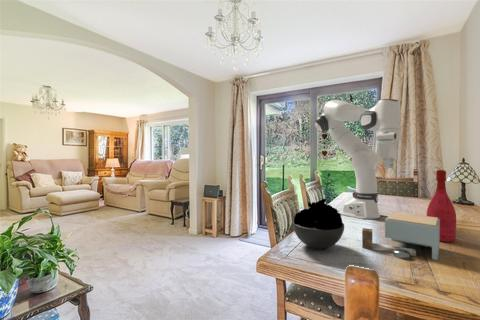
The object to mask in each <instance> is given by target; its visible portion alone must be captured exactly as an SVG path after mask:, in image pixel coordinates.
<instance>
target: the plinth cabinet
mask: <svg viewBox="0 0 480 320" xmlns="http://www.w3.org/2000/svg"><path fill="white" fill-rule="evenodd" d="M439 231H440V219H438V218H437V217H429V216H427V215H420V214H412V213H405V212H398V211H397V212H396V211H395V212H394V211H392V212H391V213H389V215H388V216H387V217H386V218H385V219H384V238H387V239H391V241H396V242H400V243H405V244H411V245H415V246H419V247H420V246H421V247H427V248H431V259H432V260H435V261H438V259H439V255H440V253H439V252H440V241H439Z"/></svg>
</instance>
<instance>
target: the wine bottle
mask: <svg viewBox="0 0 480 320" xmlns="http://www.w3.org/2000/svg"><path fill="white" fill-rule="evenodd" d="M435 172H436V176H435V177H436V179H435V180H436V181H437V182H436V183H437V184H436V190H435V192H434V195H433V197H432V198H431V200H430V202H429V204H428V206H427V209H426V216H429V217H437V218H438V219H440V231H439V242H443V243H453V242H455V241H456V237H457V212H456V210H455V207H454V204H453V203H452V201H451V199H450V197H449V195H448V192H447V187H446V186H447V185H446V181H447V171H446V170H445V169H437V170H436V171H435Z"/></svg>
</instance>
